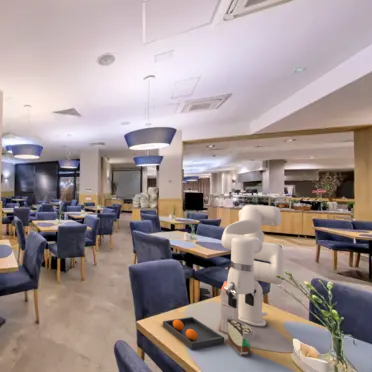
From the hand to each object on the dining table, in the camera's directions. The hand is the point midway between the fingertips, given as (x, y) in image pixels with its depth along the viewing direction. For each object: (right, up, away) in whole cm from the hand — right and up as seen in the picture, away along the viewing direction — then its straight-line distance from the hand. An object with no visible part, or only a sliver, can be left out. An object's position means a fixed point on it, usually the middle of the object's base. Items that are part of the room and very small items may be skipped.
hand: (240, 305), depth 101 cm
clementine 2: (-19, -15, +4) cm, 25 cm away
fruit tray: (-16, -18, +9) cm, 26 cm away
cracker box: (+7, -19, +14) cm, 24 cm away
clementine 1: (-21, -15, +11) cm, 28 cm away
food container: (0, -19, -1) cm, 19 cm away
